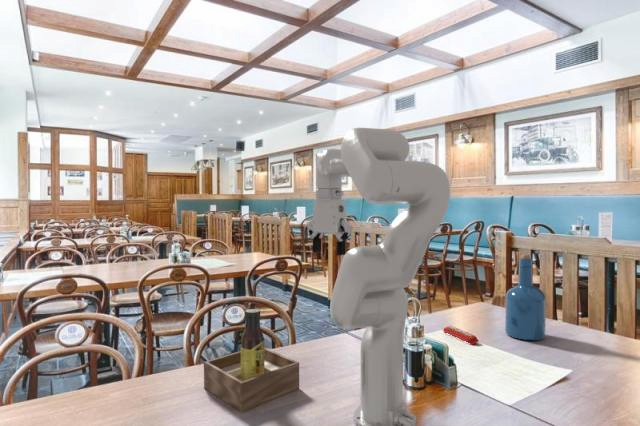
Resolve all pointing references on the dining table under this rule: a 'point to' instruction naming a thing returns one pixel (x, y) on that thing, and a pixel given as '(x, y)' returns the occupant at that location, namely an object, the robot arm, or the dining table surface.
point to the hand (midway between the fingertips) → (328, 253)
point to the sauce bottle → (252, 347)
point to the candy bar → (461, 334)
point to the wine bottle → (525, 306)
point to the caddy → (250, 380)
